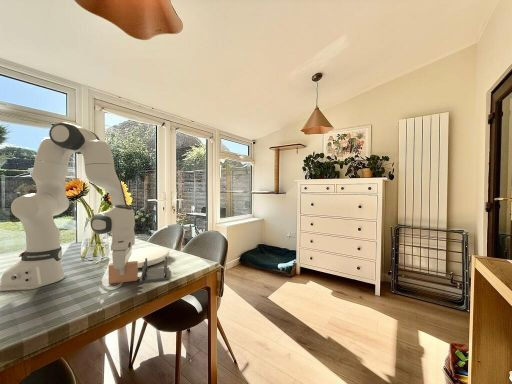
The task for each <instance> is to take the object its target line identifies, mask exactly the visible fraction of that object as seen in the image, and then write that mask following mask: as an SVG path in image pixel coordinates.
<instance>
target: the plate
mask: <svg viewBox="0 0 512 384" xmlns="http://www.w3.org/2000/svg"><path fill="white" fill-rule="evenodd" d="M166 256H167V258H169V256H170V250H169V249H167V248H165V247H161V246H150V247H142V248H141V247H140V248H136V249H132V255H131V257H130V258H129V260H128V262H132V261H138V269H140V268H141V269H142V266H144V262H145V258H147V267H149V266H150V267H151V266H152V265H156V264H158V263H162V262H163V261H165V257H166Z"/></svg>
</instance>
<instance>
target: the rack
mask: <svg viewBox="0 0 512 384" xmlns="http://www.w3.org/2000/svg"><path fill="white" fill-rule="evenodd" d="M169 279H170V267H168V257H167V256H166V257H165V260H164V264H163V267H162V268H153V269H148V266H147V258H145V262H144V266H142V268H141V275H140V279H139V284H146V283H147V284H148V283H157V282H162V281H169Z"/></svg>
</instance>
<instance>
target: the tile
mask: <svg viewBox="0 0 512 384" xmlns="http://www.w3.org/2000/svg"><path fill="white" fill-rule="evenodd" d="M138 279H139V268H138V261H132V262H127V263H126V265H125V274H124V275H120V271H119V269H114V267H113V262H111V263H109V264H108V284H109V285H110V284H116V283H117V284H119V283H125V282H126V283H127V282H136V281H138Z"/></svg>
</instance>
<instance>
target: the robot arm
mask: <svg viewBox="0 0 512 384" xmlns="http://www.w3.org/2000/svg"><path fill="white" fill-rule="evenodd" d="M48 136H49V137H44V139H42V140H41V142H40V144H39V146H38V148H37V152H36V155H35V159H34V163H33V164H34V165H33V168H32V174H31V179H32V180H33V182H34V183H35V186H36V187H35V188H36V193H28V194H24V195H21V196H18V197H16V198H15V199H14V200H13V201H12V203H11V205H10V212H11V213H12V214H13V216H14V217H15V218H17V219H19V221H20V222H21V224H22V226H23V230H24V232H25V242H26V243H25V245H26V246H25V247H26V250H24V251H22V252H21V253H20V254H18V258H20V260H19V261H18V262H16V263H14V264H13V265H12V266H10V267H9V268H8V269H6V270H5V271H4V272H3V273H2V275H1V279H0V292H1V291H3V292H4V291H5V292H7V291H23V290H35V289H39V288H41V287H43V286H47V285H50V284H54V283H57V282H59V281H61V280H63V279H65V278H66V274H65V271H64V267H63V264H62V263H63V262H62V258H63V249H62V245H61V230H60V228H59V227H57V225H56V222H55V220H54V217H55V216H59V215H61V214H63V213H64V212H65V211H67V210H68V209H69V207H70V201H69V198H68V197H67V190H66V178H67V174H68V168H69V162H70V157H71V156H72V155H73V154H76V155H80V154H81V155H82V157H83V163H84V165H83V166H84V171H85V176H86V178H87V180H89V182H90V183H92V184H94V185H95V186H98V187H99V188H102V189H104V190H105V191H106V192H107V193H108V194H109V197H110V201H111V206H112V207H111V208H110V209H108V210H105V211H101V212H98V213H95V214H94V215H93V216H92V217H91V219H90V228H91V230H92V231H93V232H94V233H95V234H98V235H105V234H109V233H110V234H111V245H110V251H111V253H112V263H113V267H114V269H119V271H120V275H124V274H125V265H126V263H127V262H128V260H129V258H130V257H131V255H132V250H133V249H132V248H133V246H134V245H135V244H136V243H135V242H136V238H135V237H136V236H135V235H136V232H135V225H136V224H135V223H136V222H135V221H136V219H135V211H134V209H133V207H131V206H130V205H128V204H127V200H126V195H125V192H124V188H123V184H122V182H121V180H120V179H119V178H118V175H117V172H116V169H115V161H114V156H113V153H112V150H111V147H110V145H109V143H107V142H105V141H103V140H101V139H100V138H99V136H98V135H97V134H95V133H94V132H92V131H90V130H88V129H86V128H85V127H82V126H78V125H75V124H72V123H70V122H57V123H54V124H53V125H51V127H50V129H49V132H48Z"/></svg>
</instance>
